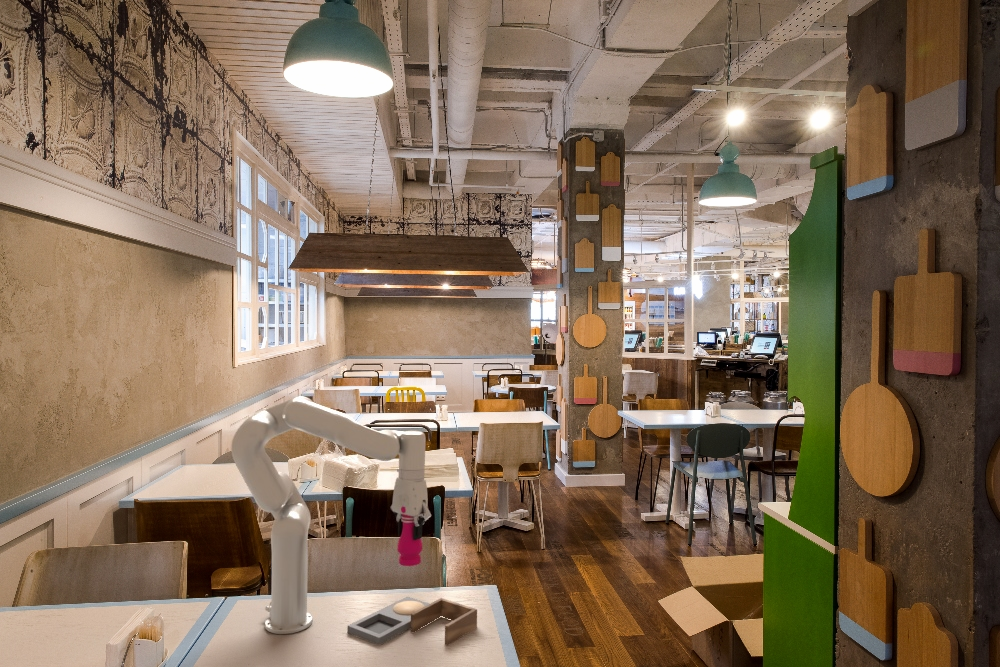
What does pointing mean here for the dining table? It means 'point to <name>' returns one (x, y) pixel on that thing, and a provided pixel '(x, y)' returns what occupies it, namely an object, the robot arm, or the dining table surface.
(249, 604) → the dining table surface
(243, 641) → the dining table surface
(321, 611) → the dining table surface
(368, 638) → the gray portable music player
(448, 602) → the wooden u-shaped frame
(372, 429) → the robot arm
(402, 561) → the pepper mill
